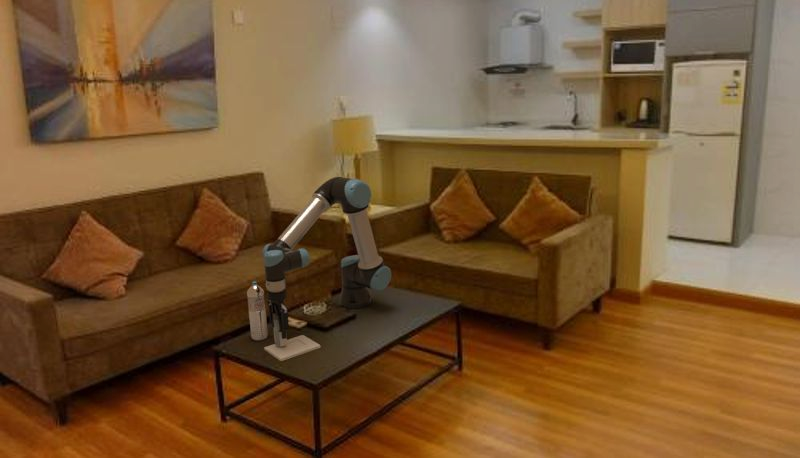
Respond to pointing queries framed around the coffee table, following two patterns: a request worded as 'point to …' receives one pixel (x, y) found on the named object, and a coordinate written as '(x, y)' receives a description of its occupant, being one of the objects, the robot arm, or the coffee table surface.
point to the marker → (276, 329)
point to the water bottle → (257, 312)
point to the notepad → (292, 348)
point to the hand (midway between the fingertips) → (280, 343)
